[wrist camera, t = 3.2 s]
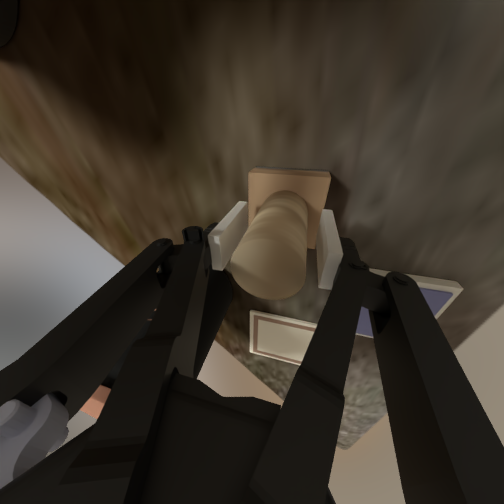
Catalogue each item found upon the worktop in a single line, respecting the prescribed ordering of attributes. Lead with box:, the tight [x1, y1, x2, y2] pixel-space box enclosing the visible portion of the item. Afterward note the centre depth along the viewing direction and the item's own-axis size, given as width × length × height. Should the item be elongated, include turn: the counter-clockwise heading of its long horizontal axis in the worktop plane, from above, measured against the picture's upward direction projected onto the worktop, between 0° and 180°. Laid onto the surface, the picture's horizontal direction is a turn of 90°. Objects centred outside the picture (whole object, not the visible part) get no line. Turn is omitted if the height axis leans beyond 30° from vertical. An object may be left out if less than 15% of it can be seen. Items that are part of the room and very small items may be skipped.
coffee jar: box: [80, 263, 232, 419], centre depth 24 cm, size 11×11×18 cm
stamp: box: [230, 166, 331, 300], centre depth 16 cm, size 7×7×12 cm
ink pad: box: [356, 268, 463, 338], centre depth 24 cm, size 11×11×2 cm
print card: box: [250, 310, 317, 365], centre depth 34 cm, size 13×13×1 cm
